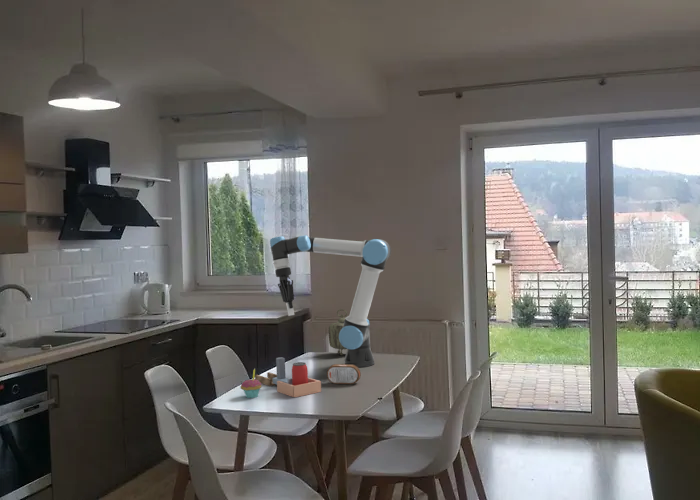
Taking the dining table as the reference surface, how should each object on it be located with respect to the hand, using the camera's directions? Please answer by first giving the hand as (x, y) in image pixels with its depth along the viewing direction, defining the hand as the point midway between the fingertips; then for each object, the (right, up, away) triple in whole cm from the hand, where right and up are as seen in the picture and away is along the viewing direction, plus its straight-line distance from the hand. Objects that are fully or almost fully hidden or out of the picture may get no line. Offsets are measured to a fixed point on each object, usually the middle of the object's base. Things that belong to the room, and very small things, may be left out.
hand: (291, 315), depth 311 cm
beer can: (+8, -28, -44) cm, 53 cm away
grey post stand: (+1, -28, -35) cm, 44 cm away
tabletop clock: (+25, -26, +38) cm, 52 cm away
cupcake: (-12, -29, -48) cm, 57 cm away
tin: (+26, -27, -32) cm, 49 cm away
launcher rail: (-7, -28, -23) cm, 37 cm away
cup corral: (+7, -28, -43) cm, 52 cm away
